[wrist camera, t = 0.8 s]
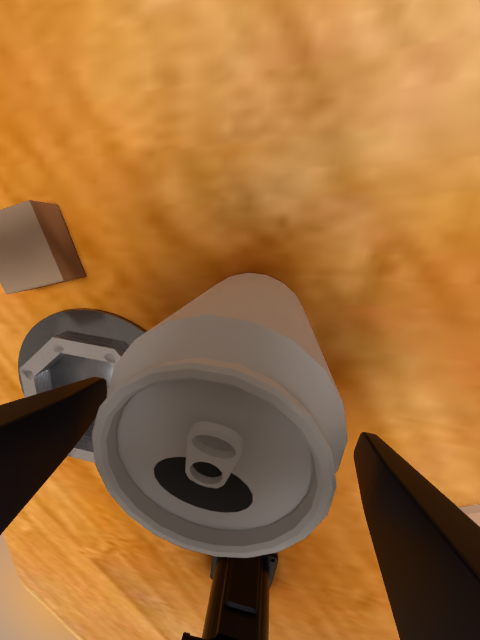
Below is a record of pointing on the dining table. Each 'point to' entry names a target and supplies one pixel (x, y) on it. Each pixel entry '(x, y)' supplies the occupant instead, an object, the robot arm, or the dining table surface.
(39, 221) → the walnut block
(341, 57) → the dining table surface
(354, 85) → the dining table surface
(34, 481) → the robot arm
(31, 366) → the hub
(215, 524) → the can
